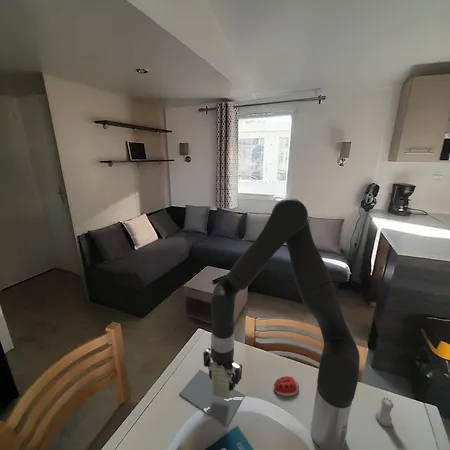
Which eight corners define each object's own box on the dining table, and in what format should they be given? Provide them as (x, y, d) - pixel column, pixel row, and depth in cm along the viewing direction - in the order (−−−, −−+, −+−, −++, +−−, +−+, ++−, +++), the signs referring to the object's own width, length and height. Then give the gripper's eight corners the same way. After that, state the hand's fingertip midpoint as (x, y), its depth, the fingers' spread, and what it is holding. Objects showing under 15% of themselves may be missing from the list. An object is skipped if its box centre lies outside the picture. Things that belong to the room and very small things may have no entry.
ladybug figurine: (302, 393, 85) (303, 385, 84) (278, 400, 82) (279, 393, 81) (292, 377, 91) (293, 370, 90) (269, 383, 88) (270, 376, 87)
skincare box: (231, 387, 82) (232, 359, 79) (229, 399, 78) (230, 370, 75) (214, 384, 83) (214, 356, 80) (211, 395, 79) (211, 367, 76)
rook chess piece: (375, 409, 79) (380, 391, 77) (391, 418, 77) (396, 400, 75) (373, 420, 76) (378, 401, 74) (390, 430, 73) (395, 411, 71)
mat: (244, 395, 83) (244, 395, 83) (227, 427, 74) (227, 426, 73) (199, 370, 93) (199, 369, 93) (179, 394, 84) (179, 393, 83)
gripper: (247, 344, 75) (245, 384, 79) (211, 327, 82) (210, 365, 86) (236, 360, 69) (234, 403, 73) (197, 340, 76) (198, 380, 80)
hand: (221, 382), depth 80 cm, fingers closed on skincare box, 7 cm apart
